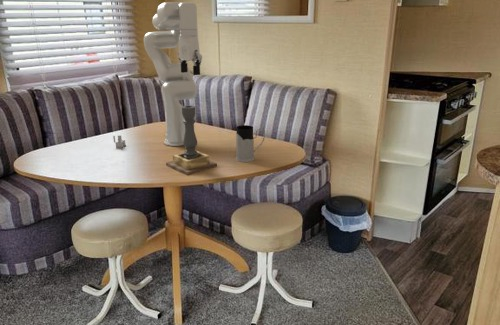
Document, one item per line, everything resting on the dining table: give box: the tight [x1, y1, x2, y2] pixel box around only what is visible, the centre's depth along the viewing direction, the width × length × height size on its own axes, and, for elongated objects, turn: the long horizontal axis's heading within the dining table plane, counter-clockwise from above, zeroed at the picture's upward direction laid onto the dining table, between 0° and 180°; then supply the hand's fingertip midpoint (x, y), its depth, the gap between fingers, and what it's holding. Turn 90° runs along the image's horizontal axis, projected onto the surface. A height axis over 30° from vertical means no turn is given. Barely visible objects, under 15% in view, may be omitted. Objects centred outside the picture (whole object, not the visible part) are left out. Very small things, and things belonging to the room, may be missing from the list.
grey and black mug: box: [235, 124, 266, 163], centre depth 190 cm, size 9×14×15 cm, turn 111°
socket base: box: [165, 150, 218, 176], centre depth 182 cm, size 16×16×5 cm
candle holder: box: [182, 105, 198, 160], centre depth 179 cm, size 6×6×25 cm
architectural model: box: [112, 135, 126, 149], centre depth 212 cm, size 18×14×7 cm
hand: (190, 73), depth 185 cm, fingers open, 9 cm apart
